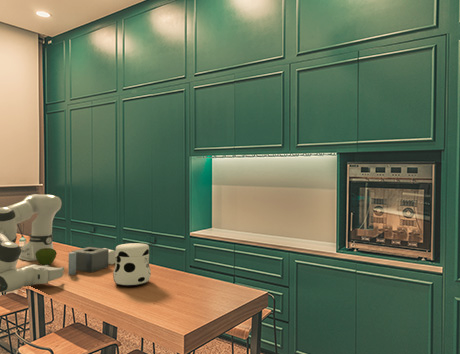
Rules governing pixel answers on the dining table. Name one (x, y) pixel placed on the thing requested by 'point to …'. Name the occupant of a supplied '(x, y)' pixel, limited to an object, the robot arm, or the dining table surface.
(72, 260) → the grey rounded cylinder
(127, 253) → the milk container
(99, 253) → the grey square box
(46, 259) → the apple
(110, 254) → the mug
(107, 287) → the dining table surface
